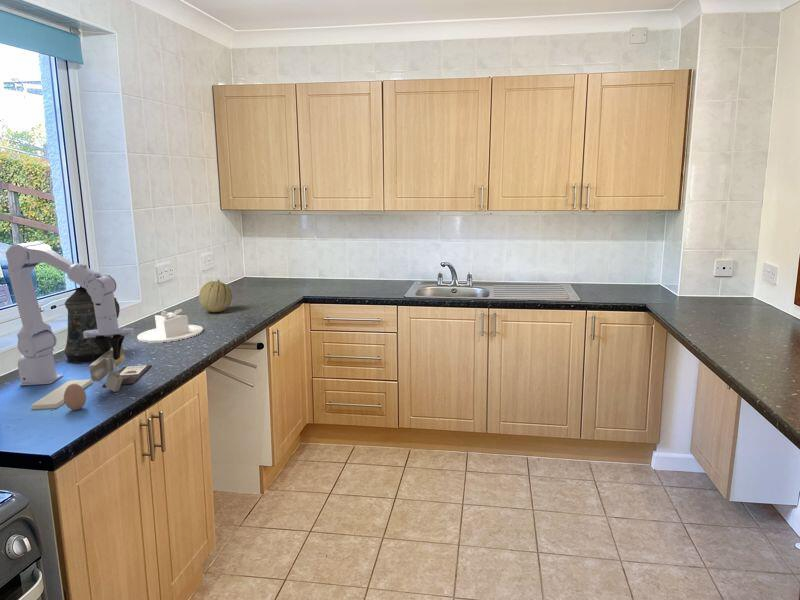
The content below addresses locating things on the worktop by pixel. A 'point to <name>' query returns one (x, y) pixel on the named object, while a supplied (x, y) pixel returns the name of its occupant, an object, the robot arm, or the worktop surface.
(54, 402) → the flat cream panel
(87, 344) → the beer stein
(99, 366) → the tall tan wooden post
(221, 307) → the cantaloupe
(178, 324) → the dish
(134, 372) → the chocolate bar
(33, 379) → the robot arm
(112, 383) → the lighter
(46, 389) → the worktop surface
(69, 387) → the egg
